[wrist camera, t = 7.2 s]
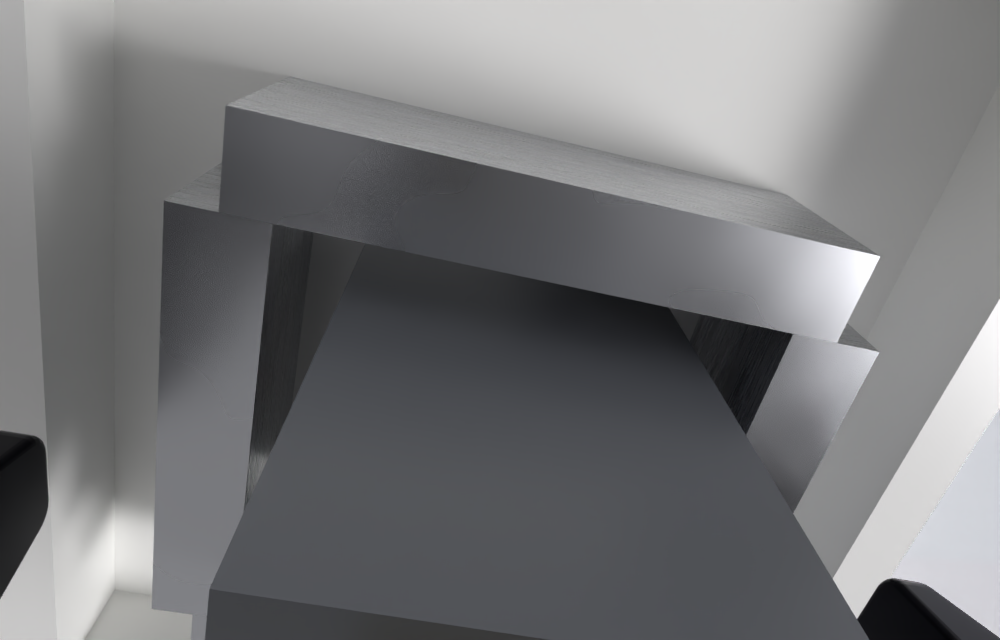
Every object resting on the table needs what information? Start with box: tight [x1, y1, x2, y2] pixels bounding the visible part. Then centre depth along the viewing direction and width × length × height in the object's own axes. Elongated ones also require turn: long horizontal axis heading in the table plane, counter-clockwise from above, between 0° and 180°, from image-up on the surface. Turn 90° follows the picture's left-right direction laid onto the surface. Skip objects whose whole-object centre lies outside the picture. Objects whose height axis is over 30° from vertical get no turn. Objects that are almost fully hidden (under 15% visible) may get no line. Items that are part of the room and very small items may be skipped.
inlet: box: [152, 76, 880, 640], centre depth 9 cm, size 7×7×2 cm
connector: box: [205, 243, 869, 640], centre depth 7 cm, size 4×4×7 cm
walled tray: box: [0, 0, 1000, 640], centre depth 9 cm, size 14×12×2 cm
